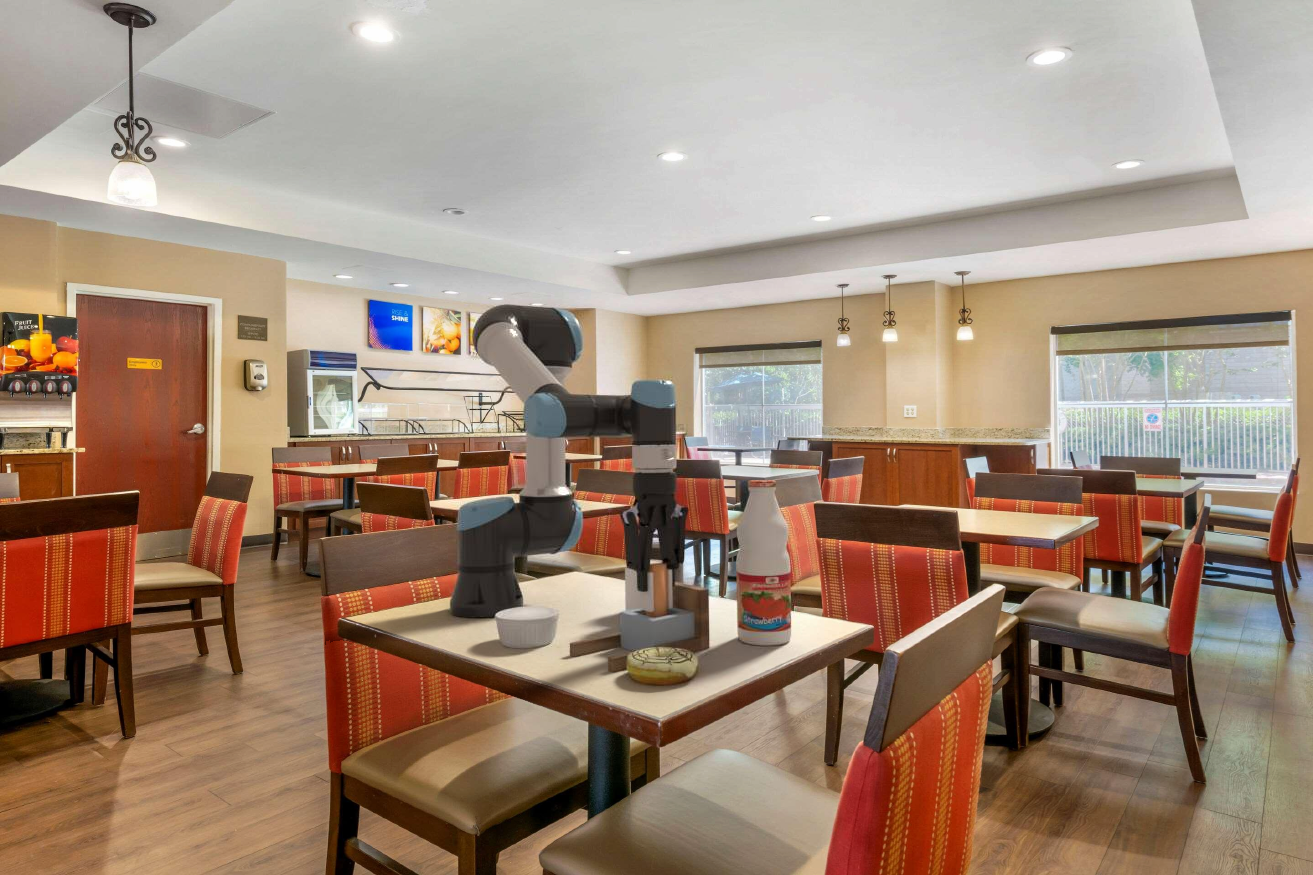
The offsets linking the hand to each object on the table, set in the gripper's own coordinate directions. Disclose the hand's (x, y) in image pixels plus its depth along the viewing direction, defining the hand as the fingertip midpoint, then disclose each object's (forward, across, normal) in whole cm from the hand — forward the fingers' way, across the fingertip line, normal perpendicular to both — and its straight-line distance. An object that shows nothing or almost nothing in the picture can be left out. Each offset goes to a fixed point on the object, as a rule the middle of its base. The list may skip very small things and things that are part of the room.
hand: (656, 608), depth 129 cm
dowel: (+4, 0, 0) cm, 4 cm away
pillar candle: (+7, +18, +22) cm, 29 cm away
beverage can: (+7, +8, +14) cm, 17 cm away
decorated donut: (+7, -9, -12) cm, 17 cm away
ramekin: (+7, -15, +18) cm, 25 cm away
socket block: (+7, 0, 0) cm, 7 cm away
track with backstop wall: (+7, -4, 0) cm, 8 cm away
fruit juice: (+7, +17, -8) cm, 21 cm away
